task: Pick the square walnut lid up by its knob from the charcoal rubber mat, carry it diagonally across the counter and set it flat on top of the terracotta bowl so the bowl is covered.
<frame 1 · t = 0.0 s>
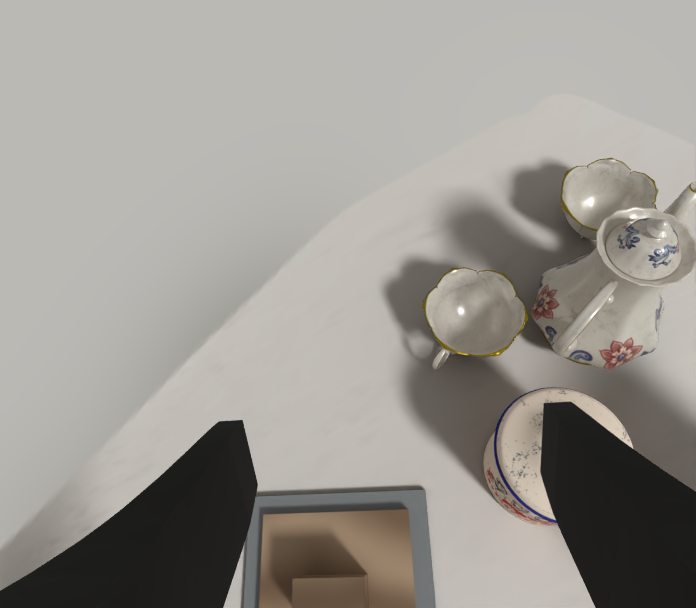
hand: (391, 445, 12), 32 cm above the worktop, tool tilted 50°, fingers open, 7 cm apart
rubber mat: (338, 595, 39), on the worktop
teacup with lid: (552, 478, 41), on the worktop
walnut lid: (337, 595, 38), resting on rubber mat
chinaware: (559, 302, 47), on the worktop
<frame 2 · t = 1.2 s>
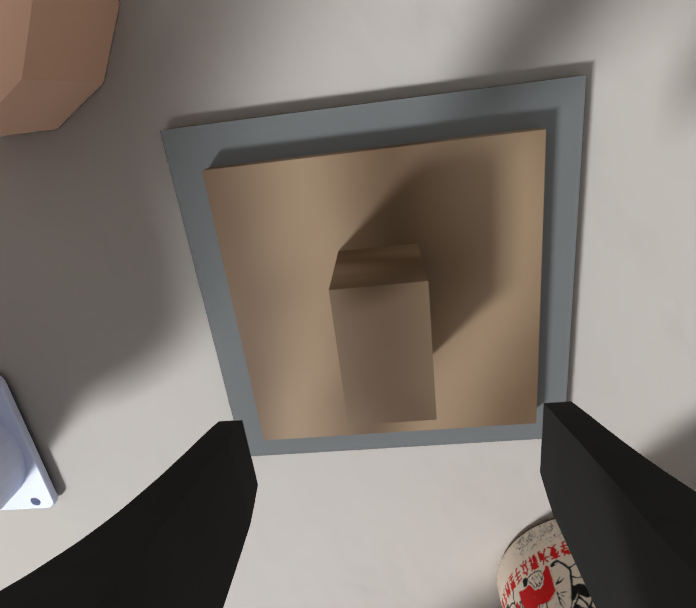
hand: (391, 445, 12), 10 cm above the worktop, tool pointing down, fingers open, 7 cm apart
rubber mat: (383, 295, 21), on the worktop
teacup with lid: (559, 583, 27), on the worktop
walnut lid: (383, 300, 20), resting on rubber mat
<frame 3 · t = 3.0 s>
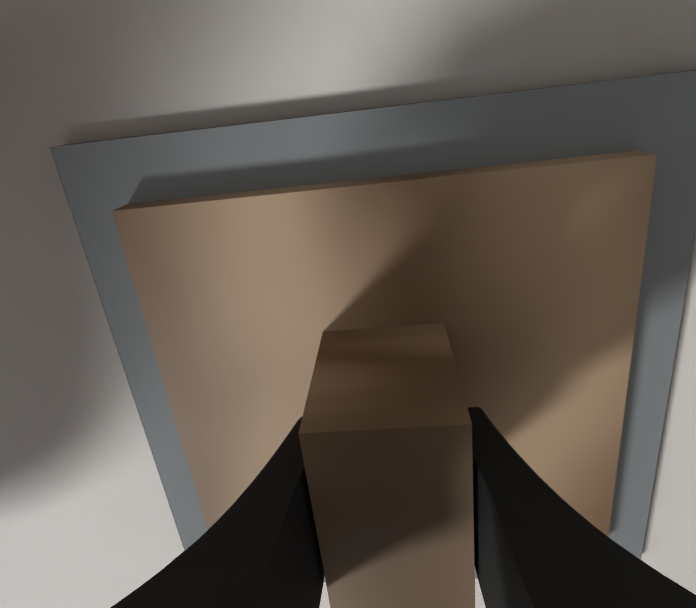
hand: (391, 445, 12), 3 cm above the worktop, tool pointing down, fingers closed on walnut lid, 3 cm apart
rubber mat: (389, 384, 14), on the worktop
walnut lid: (390, 394, 14), resting on rubber mat, touching gripper
when the fingers open (8 cm above the worktop, at t = 6.6 s): walnut lid stays where it is, resting on terracotta bowl.
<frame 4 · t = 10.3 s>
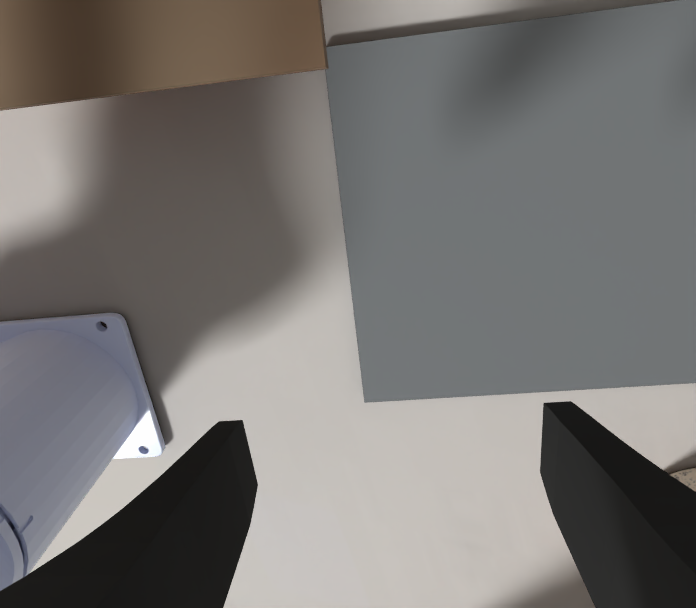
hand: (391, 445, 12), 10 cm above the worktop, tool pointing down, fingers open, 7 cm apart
rubber mat: (530, 230, 20), on the worktop
teacup with lid: (671, 541, 26), on the worktop
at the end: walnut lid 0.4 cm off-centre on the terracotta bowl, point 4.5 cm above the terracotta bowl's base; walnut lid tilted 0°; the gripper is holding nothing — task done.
